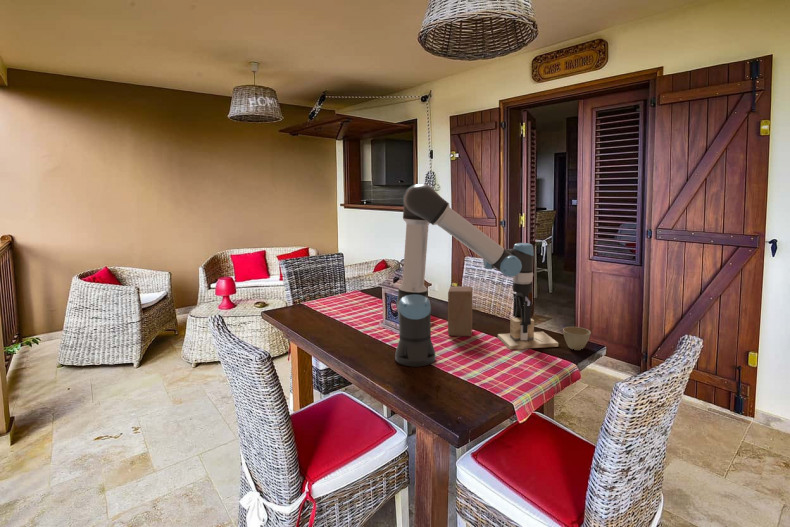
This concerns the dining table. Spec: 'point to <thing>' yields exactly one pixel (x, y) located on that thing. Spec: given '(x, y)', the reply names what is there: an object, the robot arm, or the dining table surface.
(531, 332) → the sanding block
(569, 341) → the flower pot
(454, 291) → the wooden block
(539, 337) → the board
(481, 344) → the dining table surface
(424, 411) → the dining table surface
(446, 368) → the dining table surface
